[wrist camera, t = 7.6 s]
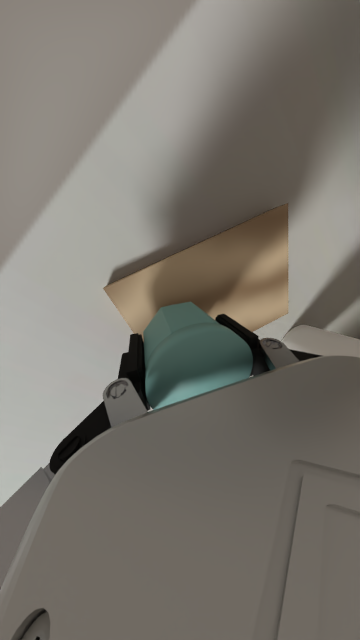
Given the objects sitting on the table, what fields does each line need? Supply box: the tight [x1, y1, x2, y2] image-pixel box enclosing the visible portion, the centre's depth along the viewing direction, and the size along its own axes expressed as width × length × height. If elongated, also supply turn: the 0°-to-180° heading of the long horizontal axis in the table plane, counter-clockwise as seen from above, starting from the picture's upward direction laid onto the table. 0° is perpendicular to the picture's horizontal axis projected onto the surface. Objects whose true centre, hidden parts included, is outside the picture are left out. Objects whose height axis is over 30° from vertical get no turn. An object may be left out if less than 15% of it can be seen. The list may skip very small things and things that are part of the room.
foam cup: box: [281, 325, 360, 358], centre depth 18 cm, size 10×9×13 cm
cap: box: [143, 302, 253, 410], centre depth 10 cm, size 6×6×5 cm
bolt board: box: [103, 203, 288, 342], centre depth 14 cm, size 12×18×6 cm, turn 112°
